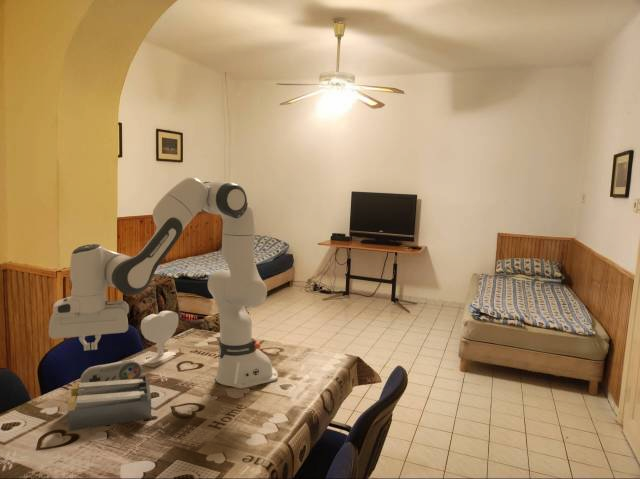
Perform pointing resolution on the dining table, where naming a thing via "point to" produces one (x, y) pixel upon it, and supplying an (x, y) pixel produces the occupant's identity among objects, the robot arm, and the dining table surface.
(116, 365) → the game controller
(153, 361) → the heart sculpture
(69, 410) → the grey boxy piece
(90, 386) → the strap far
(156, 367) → the dining table surface
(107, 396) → the strap near
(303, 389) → the dining table surface
